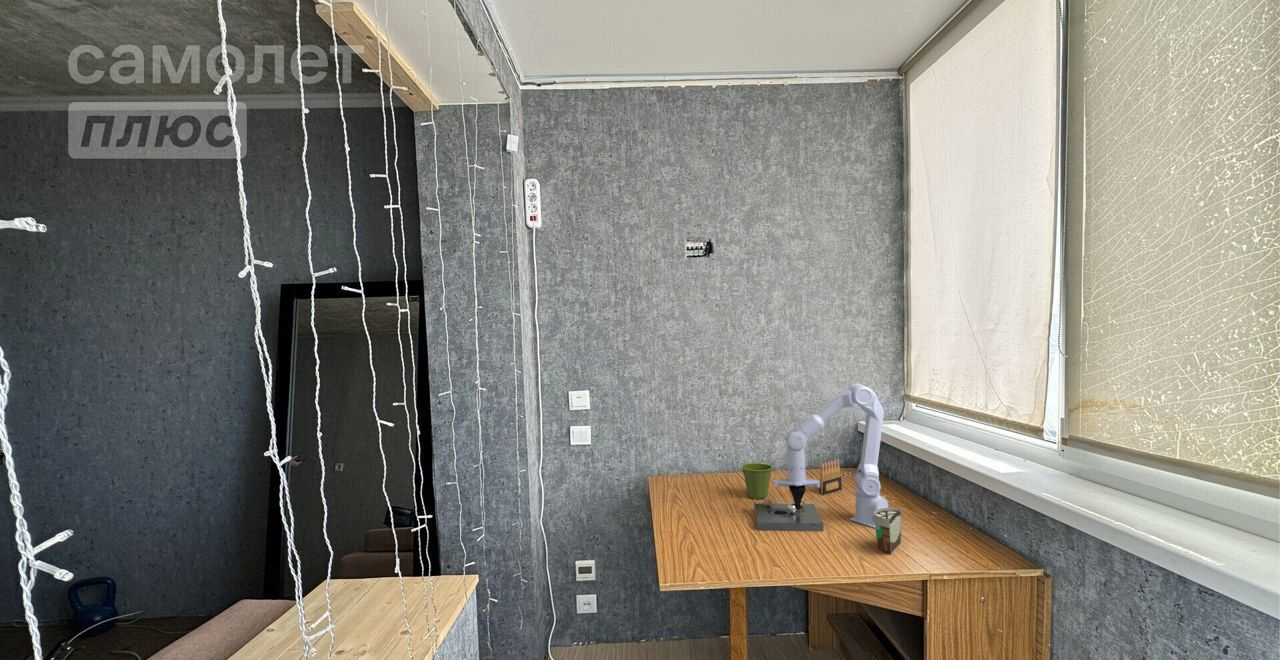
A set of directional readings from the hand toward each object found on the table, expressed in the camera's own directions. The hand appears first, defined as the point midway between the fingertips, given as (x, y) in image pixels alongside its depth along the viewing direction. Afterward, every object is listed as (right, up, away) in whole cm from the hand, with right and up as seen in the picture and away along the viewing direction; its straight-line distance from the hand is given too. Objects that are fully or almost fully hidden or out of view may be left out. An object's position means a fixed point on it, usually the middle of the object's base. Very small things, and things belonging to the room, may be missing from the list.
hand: (797, 508), depth 194 cm
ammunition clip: (+20, -3, +29) cm, 36 cm away
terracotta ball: (-8, 0, +8) cm, 11 cm away
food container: (+19, -4, -24) cm, 31 cm away
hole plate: (-3, -4, 0) cm, 5 cm away
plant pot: (-8, -4, +27) cm, 28 cm away
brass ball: (+2, +1, +7) cm, 7 cm away
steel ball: (-2, 0, 0) cm, 2 cm away
